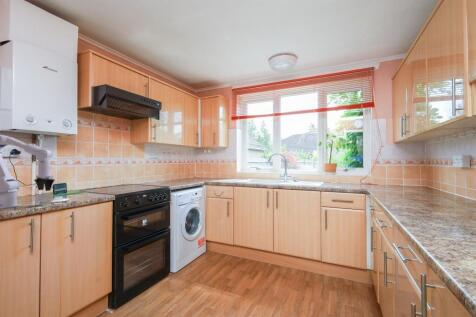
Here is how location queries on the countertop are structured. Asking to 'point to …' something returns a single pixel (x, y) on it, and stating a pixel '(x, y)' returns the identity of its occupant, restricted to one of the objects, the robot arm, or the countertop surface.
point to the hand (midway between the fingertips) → (44, 190)
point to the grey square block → (44, 197)
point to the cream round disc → (58, 200)
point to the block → (44, 203)
